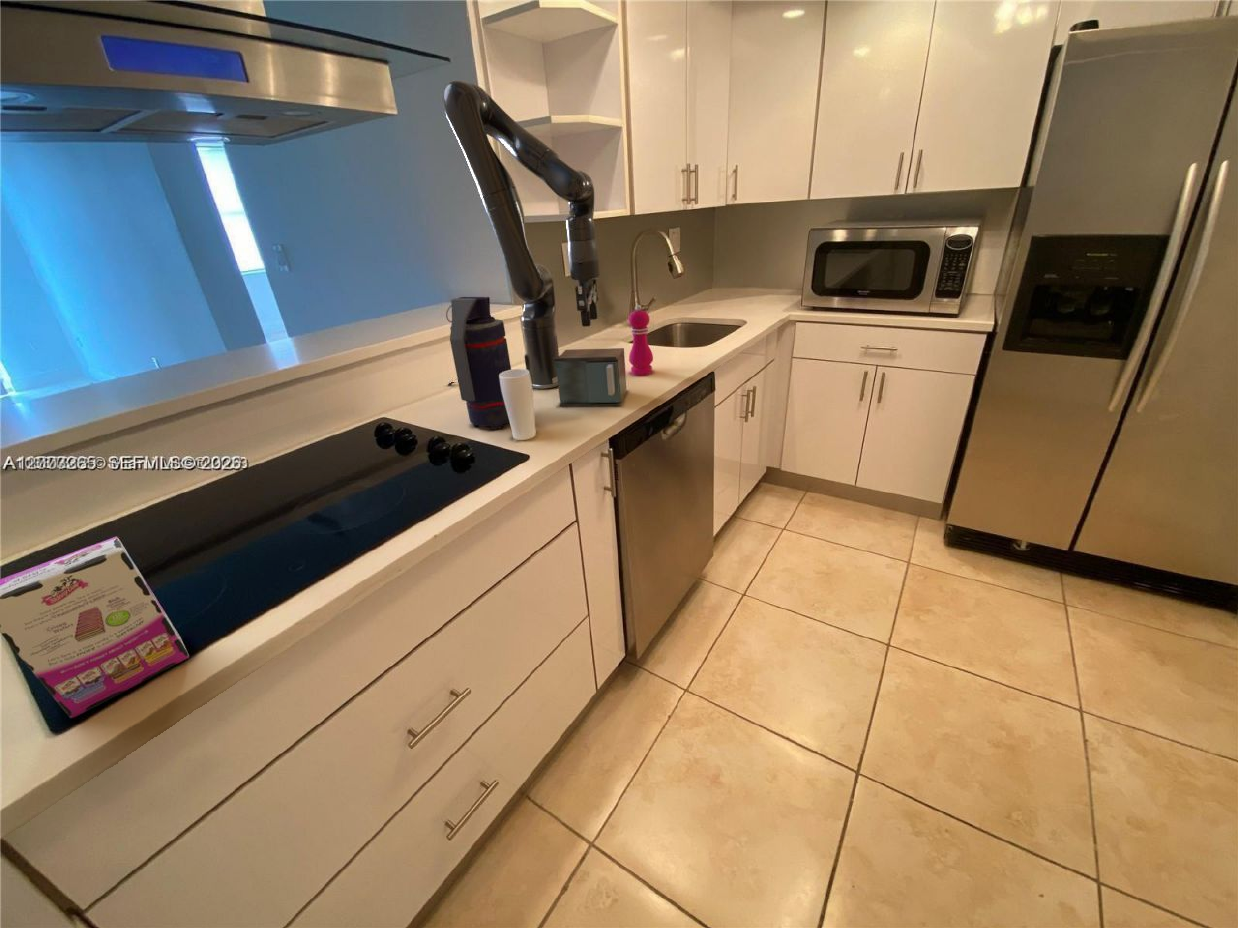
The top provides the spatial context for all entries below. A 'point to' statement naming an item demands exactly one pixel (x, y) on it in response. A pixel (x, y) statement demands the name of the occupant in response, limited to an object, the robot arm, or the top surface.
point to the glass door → (602, 382)
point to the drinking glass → (518, 402)
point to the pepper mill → (640, 343)
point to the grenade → (479, 359)
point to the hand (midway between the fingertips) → (590, 322)
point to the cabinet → (574, 374)
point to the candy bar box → (88, 625)
